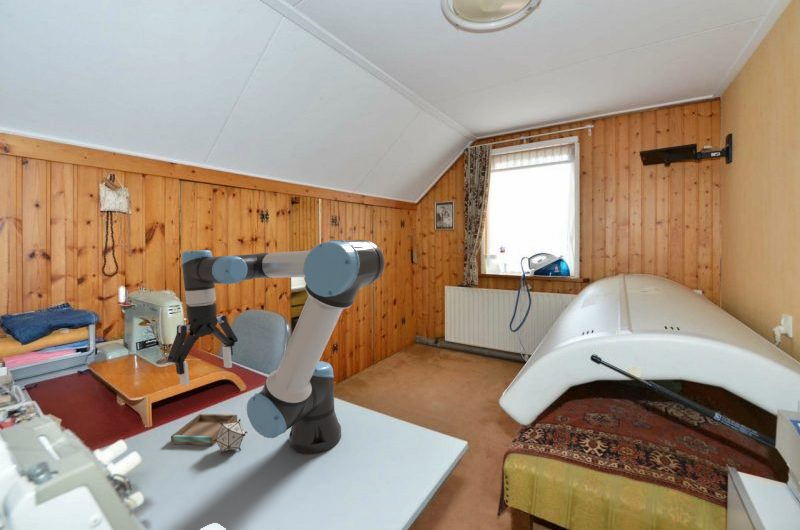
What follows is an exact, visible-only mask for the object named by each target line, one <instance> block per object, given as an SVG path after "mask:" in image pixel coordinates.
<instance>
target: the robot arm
mask: <svg viewBox="0 0 800 530" xmlns="http://www.w3.org/2000/svg"><path fill="white" fill-rule="evenodd" d="M385 263H386V262H385V256H384V253H383V252H382V250H381V248H380V247H379V246H378V245H377V244H375V243H374V242H372V241H369V240H366V239H349V240H348V239H347V240H343V239H342V240H341V239H333V240H332V239H331V240H329V241H324V242H321V243H318V244H317V245H315V246H314V247H313V248H311V250H301V251H300V250H299V251H298V250H297V251H296V250H295V251H282V252H281V251H279V252H260V253H249V254H236V255H219V256H213V253H212V251H211V250H210V249H205V250H204V249H201V250H186V251H183V252H182V254H181V268H182V278H183V287H184V294H185V296H184V297H185V303H186V305H187V306H186V307H185V311H186V316H187V320H188V323H187V324H178V325H177V326H176V335H175V338H174V340H173V344H172V346H171V349H170V352H169V355H168V357H167V359H166V360H167V362H169V363H174V364H175V370H176V374H177V375H179V381H180V385H182V386H186V387H187V386H189V385H190V376H189V375H190V374H189V365H188V361H186V358H187V357H188V355H189V354H190V352H191V350H192V349H193V347H194V345H195V343H196V342H197V341H198V340H199V338H202V337H205V336H209V335H213V336H214V337H215V338H216V339H217V340H219V341H220V342H221V343H222V344H223V345H222V360H223V368H226V369H231V368H233V362H232V356H233V354H234V351H233V347H234V346H235V343H237V342H238V341H239V340H238V338H237V335H236V334H235V332H234V331H233V329H232V327H231V326H230V324H229V322H228V319H227V318H228V317H227V315H223V314H222V315H219V314H218V311H217V308H218V307H217V303H216V301H217V297H216V296H217V295H216V288H215V287H216V286H215V284H221V285H222V284H223V285H234V284H239V283H241V282H243V281H249V280H255V279H273V278H276V279H277V278H304V283H305V285H304V289H305V291H306V294H307V298H306V301H305V303H304V304H303V308H302V310H301V313H300V315H299V318H298V320H297V322H296V324H295V327H294V329H293V331H292V334H291V337H290V339H289V340H288V341H289V342H288V343H287V346H286V349H285V350H284V353H283V356H282V358H281V360H280V362H279V364H278V368H277V369H275V370H273V371H272V372H270V373H269V375H268V376H267V377H266V380H265V383H264V384H263V387H262V389H261V391H259V392H257V393H255V394H253V395H252V396H251V397H250V398H249V399H248V401H247V404H246V415H247V418H248V420H249V423H250V425H251V427H252V428H253V429H254V430H255V432H257V433H258V434H259V435H260V436H262V437H263V438H267V439H276V438H277V437H279V436H280V435H282V434H285V433H286V431H287V430H290V431H289V435H288V438H289V439H288V440H289V441H288V442H289V446H290V449H292V450H293V451H294V452H297V453H300V454H306V455H307V454H309V455H311V454H318V453H322V452H325V451H328V450H330V449H332V448H333V447H335V446H336V445H338V444H339V442H340V440H341V439H342V427H341V424H340V423H339V420H338V417H337V414H336V411H335V388H334V386H335V385H334V383H335V382H334V381H335V380H334V378H335V376H334V369H333V366H332V365H331V364H330V363H329V362H326V361H322V360H321V358H322V355H323V353H324V352H325V349H326V347H327V344H328V342H329V340H330V339H331V336H332V334H333V331H334V330H335V327H336V325H337V323H338V320H339V319H340V316H341V314H342V312H343V310H345V309H349V308H350V307H352V306H353V303H354V302H355V300H356V297H357V295H358V293H359V291H360V289H361V288H364V287H367V286H370V285H372V284H374V283H375V282H377V281H378V280H379V279H380V278H381V276H382V274H383V273H384V270H385ZM217 314H218V315H217ZM217 324H219V327H220V328H221V329H220V328H218V327H217ZM221 330H222V331H221ZM187 333H188V334H187ZM320 360H321V361H320Z"/></svg>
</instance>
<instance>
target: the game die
mask: <svg viewBox="0 0 800 530" xmlns="http://www.w3.org/2000/svg"><path fill="white" fill-rule="evenodd" d="M241 420H242V419H241V418H240V419H237V422H233V423H227V424H223V423H222V422H220V424H221V425H222V426H221V428H220V430H219V433H218V435H217V437H216V439H214V440H213V442H214V441H216V444H217V445H218V447H219V449H220V453H219V454H220V455H221V454H223V452H227V451H232V450H239V451H240V452H241V451H242V448H241V444H242V442H243V439H244V437H245V436H246V434H248V431H245V429H244V428H243V426H242V424H241Z"/></svg>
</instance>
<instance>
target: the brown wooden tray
mask: <svg viewBox="0 0 800 530" xmlns="http://www.w3.org/2000/svg"><path fill="white" fill-rule="evenodd" d="M220 422H222V423H223V424H227V423H233V422H238V414H219V413H218V414H216V413H215V414H213V413H199V414H198V415H196V416H195V417H194V418H193V419H191V420H190V421H188V423H186V424H185V425H183V426H182V427H181V428H179V429H178V430H177V431H175V433H173V434H172V435H171V436H170V442H171V445H187V446H189V445H191V446H215V444H217V442H216V441H214V442H213V440H214V439H216V437H217V435H218V433H219V430H220V428H221V426H222V425H221V424H220Z"/></svg>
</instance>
